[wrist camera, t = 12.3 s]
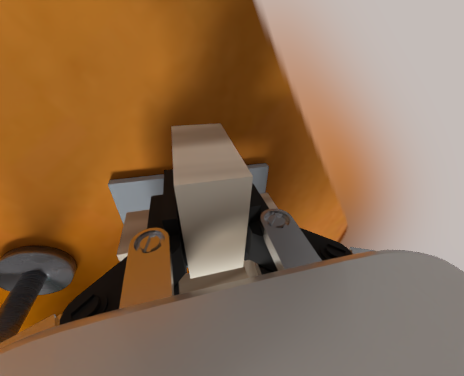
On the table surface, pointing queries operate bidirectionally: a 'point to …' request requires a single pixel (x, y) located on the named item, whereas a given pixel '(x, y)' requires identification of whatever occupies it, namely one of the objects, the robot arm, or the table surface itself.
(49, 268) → the stand
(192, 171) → the cream square frame
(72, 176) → the table surface
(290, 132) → the table surface
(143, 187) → the mat
